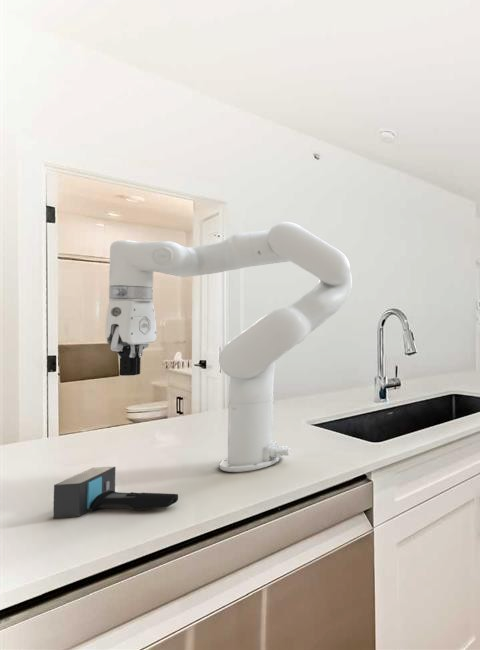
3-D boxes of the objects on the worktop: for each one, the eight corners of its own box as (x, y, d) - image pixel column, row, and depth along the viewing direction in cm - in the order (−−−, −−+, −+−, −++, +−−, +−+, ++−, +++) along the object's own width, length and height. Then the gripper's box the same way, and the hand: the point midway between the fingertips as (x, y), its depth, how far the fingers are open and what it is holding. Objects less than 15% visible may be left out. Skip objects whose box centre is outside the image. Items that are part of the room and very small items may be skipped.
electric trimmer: (166, 515, 78) (167, 497, 78) (86, 512, 79) (87, 494, 79) (183, 506, 82) (184, 489, 82) (106, 503, 83) (107, 486, 83)
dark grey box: (117, 466, 86) (81, 483, 78) (116, 496, 86) (80, 516, 77) (92, 467, 86) (53, 484, 77) (92, 497, 85) (53, 518, 77)
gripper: (127, 293, 91) (125, 379, 91) (169, 296, 106) (168, 370, 105) (86, 293, 90) (84, 380, 89) (135, 296, 104) (133, 371, 104)
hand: (129, 374), depth 97 cm, fingers closed
